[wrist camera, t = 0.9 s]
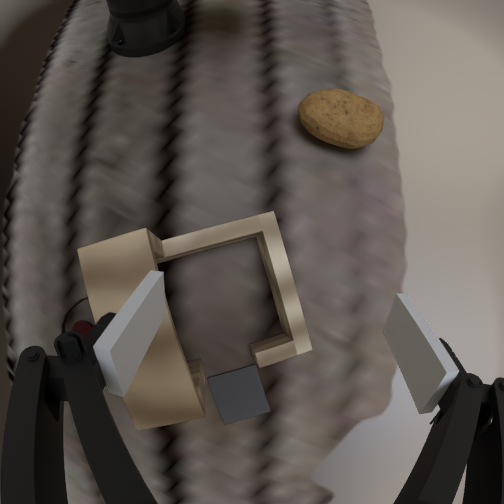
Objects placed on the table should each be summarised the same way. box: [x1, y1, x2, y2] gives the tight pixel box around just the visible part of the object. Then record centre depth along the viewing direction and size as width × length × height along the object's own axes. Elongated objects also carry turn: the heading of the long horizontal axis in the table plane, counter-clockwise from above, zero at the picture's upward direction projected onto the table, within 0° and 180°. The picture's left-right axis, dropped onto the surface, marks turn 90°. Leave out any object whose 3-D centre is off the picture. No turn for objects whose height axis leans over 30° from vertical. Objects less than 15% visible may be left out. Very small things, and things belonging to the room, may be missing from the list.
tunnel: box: [77, 211, 312, 430], centre depth 32 cm, size 18×21×14 cm
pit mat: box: [207, 364, 270, 425], centre depth 38 cm, size 8×7×1 cm
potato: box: [298, 89, 384, 149], centre depth 40 cm, size 10×14×8 cm
